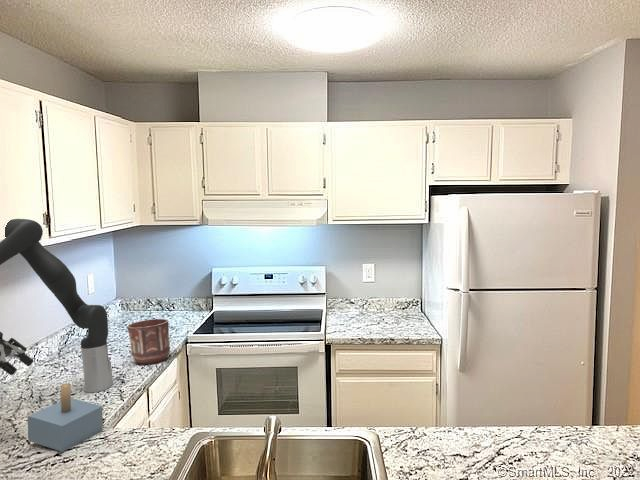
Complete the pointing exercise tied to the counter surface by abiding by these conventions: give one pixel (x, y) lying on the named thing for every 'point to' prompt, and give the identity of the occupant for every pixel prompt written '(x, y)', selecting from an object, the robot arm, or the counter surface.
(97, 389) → the robot arm
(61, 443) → the cover
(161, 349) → the pottery
